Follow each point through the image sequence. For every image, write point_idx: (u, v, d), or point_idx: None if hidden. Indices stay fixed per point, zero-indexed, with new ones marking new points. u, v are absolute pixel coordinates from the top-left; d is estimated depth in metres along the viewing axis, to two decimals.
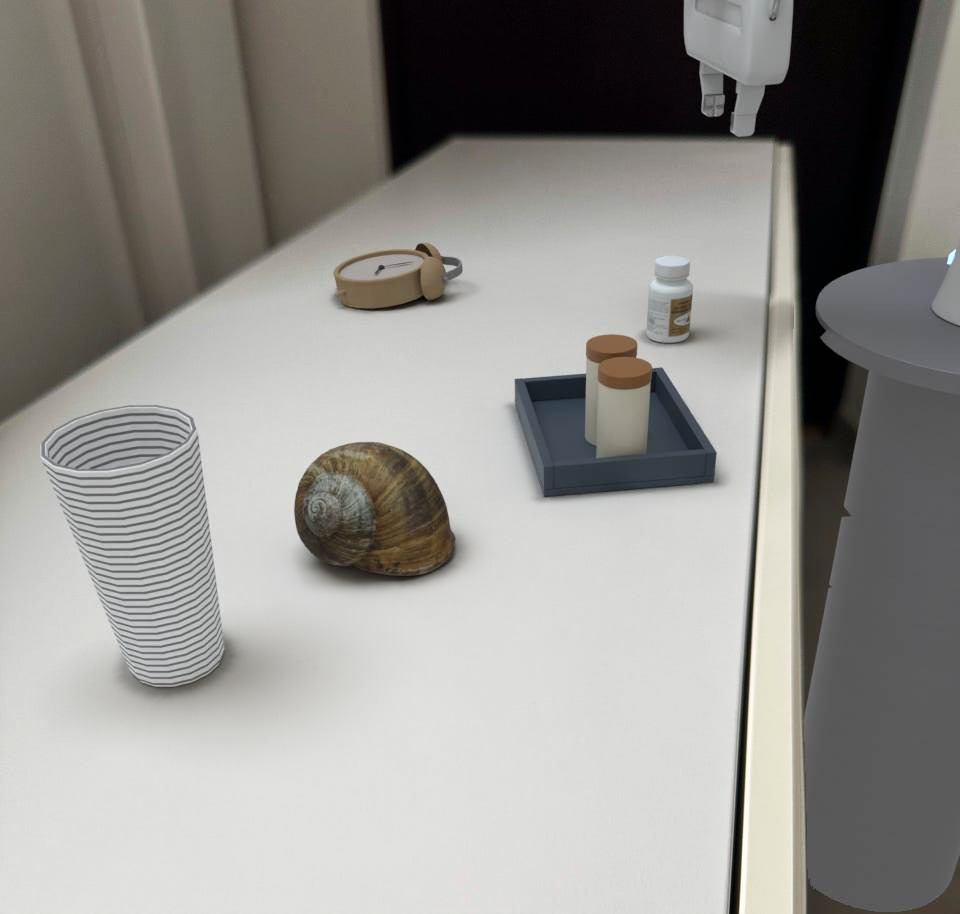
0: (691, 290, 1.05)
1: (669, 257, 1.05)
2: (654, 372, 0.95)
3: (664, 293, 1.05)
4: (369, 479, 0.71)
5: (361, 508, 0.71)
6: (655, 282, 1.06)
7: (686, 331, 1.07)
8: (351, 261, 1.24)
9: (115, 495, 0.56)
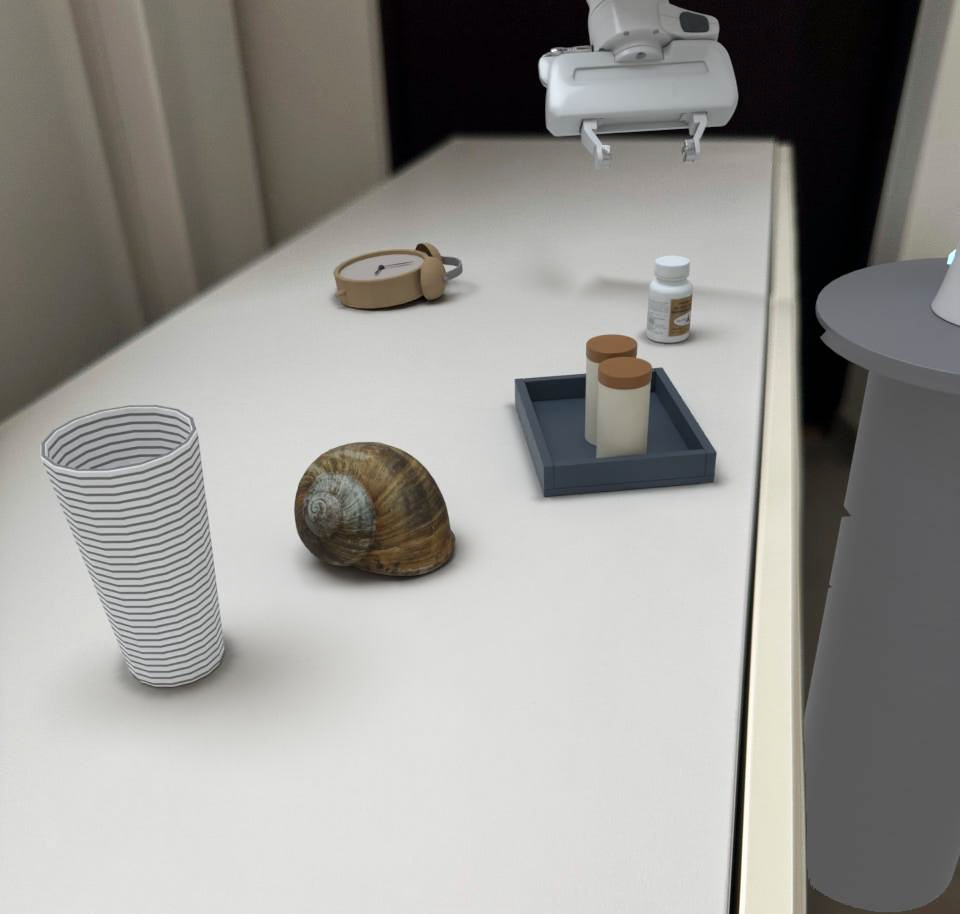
0: (691, 290, 1.05)
1: (669, 257, 1.05)
2: (654, 372, 0.95)
3: (664, 293, 1.05)
4: (369, 479, 0.71)
5: (361, 508, 0.71)
6: (655, 282, 1.06)
7: (686, 331, 1.07)
8: (351, 261, 1.24)
9: (115, 495, 0.56)
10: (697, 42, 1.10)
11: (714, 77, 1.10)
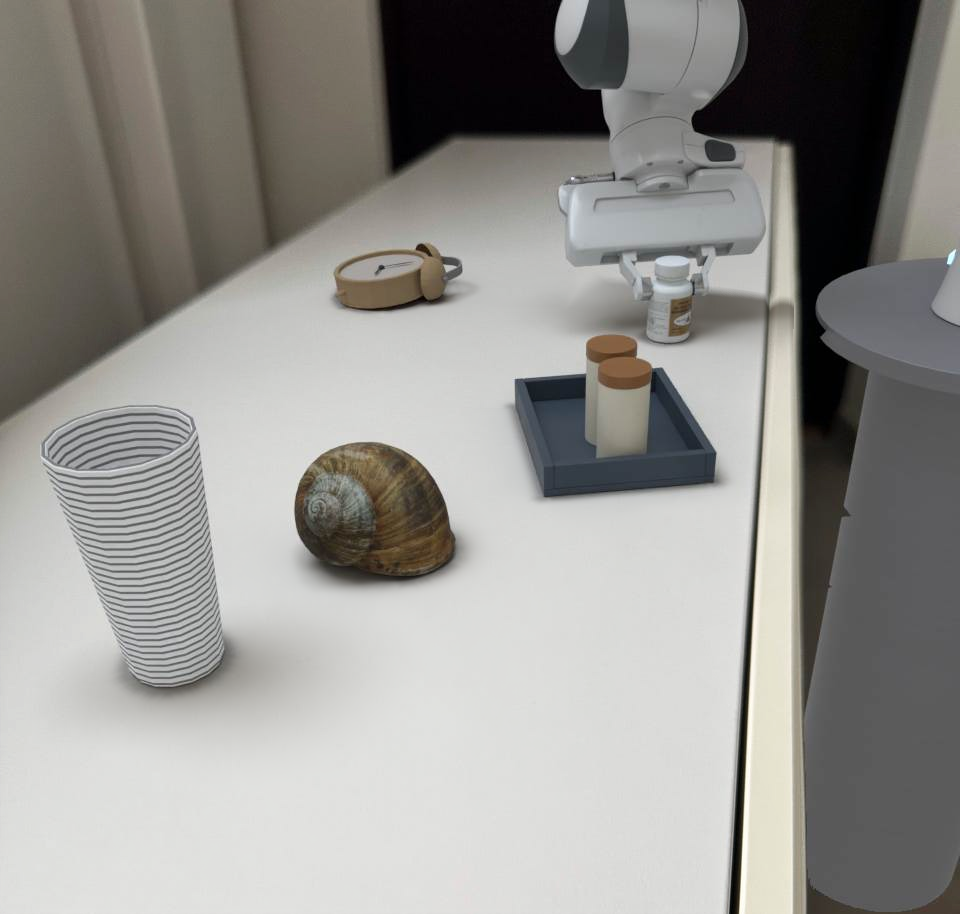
0: (691, 290, 1.05)
1: (669, 257, 1.05)
2: (654, 372, 0.95)
3: (664, 293, 1.05)
4: (369, 479, 0.71)
5: (361, 508, 0.71)
6: (655, 282, 1.06)
7: (686, 331, 1.07)
8: (351, 261, 1.24)
9: (115, 495, 0.56)
10: (723, 171, 1.05)
11: (740, 207, 1.06)
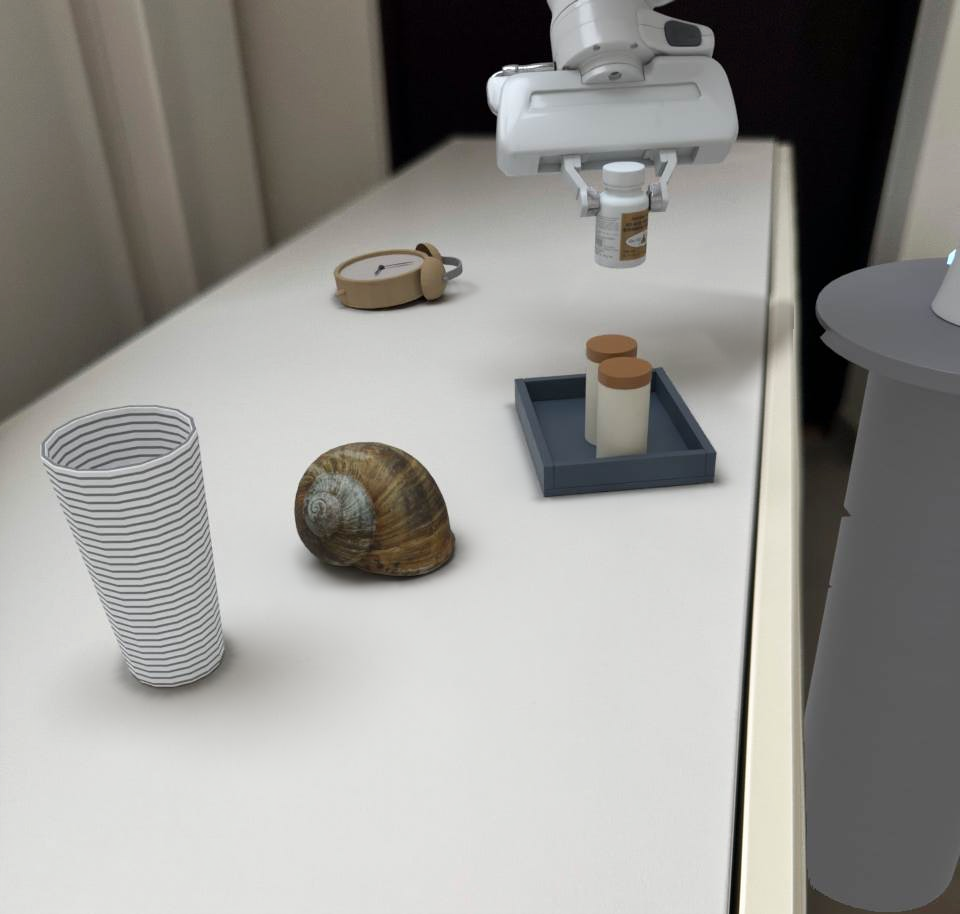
0: (647, 203, 0.87)
1: (620, 163, 0.87)
2: (654, 372, 0.95)
3: (614, 206, 0.86)
4: (369, 479, 0.71)
5: (361, 508, 0.71)
6: (603, 193, 0.87)
7: (641, 254, 0.89)
8: (351, 261, 1.24)
9: (115, 495, 0.56)
10: (687, 58, 0.87)
11: (707, 103, 0.87)
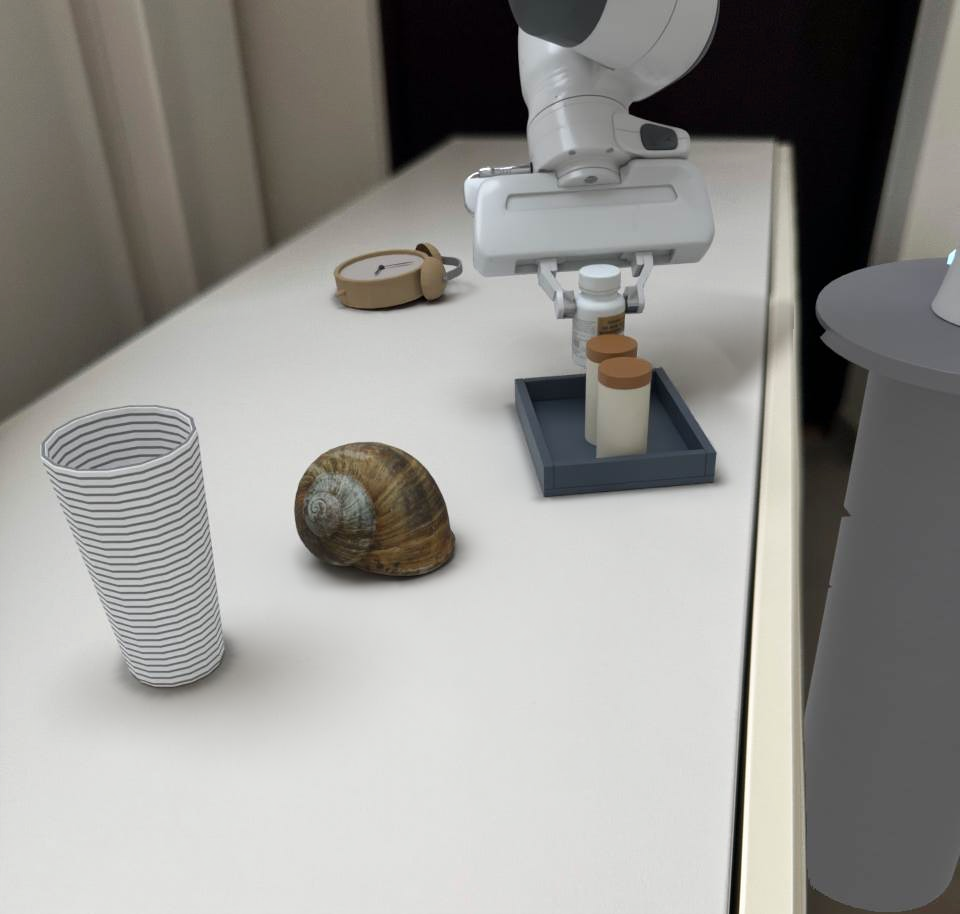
0: (623, 306, 0.87)
1: (596, 266, 0.87)
2: (654, 372, 0.95)
3: (590, 310, 0.86)
4: (369, 479, 0.71)
5: (361, 508, 0.71)
6: (580, 296, 0.87)
7: None
8: (351, 261, 1.24)
9: (115, 495, 0.56)
10: (663, 161, 0.87)
11: (684, 206, 0.87)
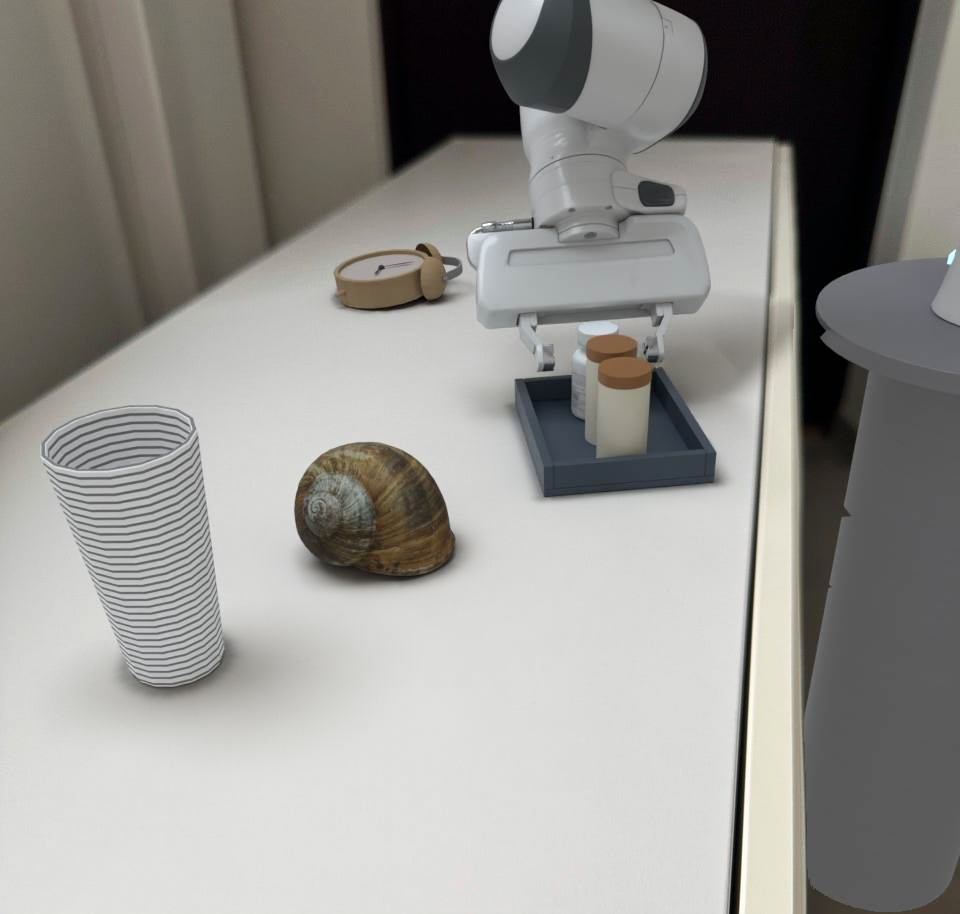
0: None
1: (595, 323, 0.90)
2: (654, 372, 0.95)
3: None
4: (369, 479, 0.71)
5: (361, 508, 0.71)
6: (579, 352, 0.90)
7: None
8: (351, 261, 1.24)
9: (115, 495, 0.56)
10: (660, 217, 0.89)
11: (681, 260, 0.90)
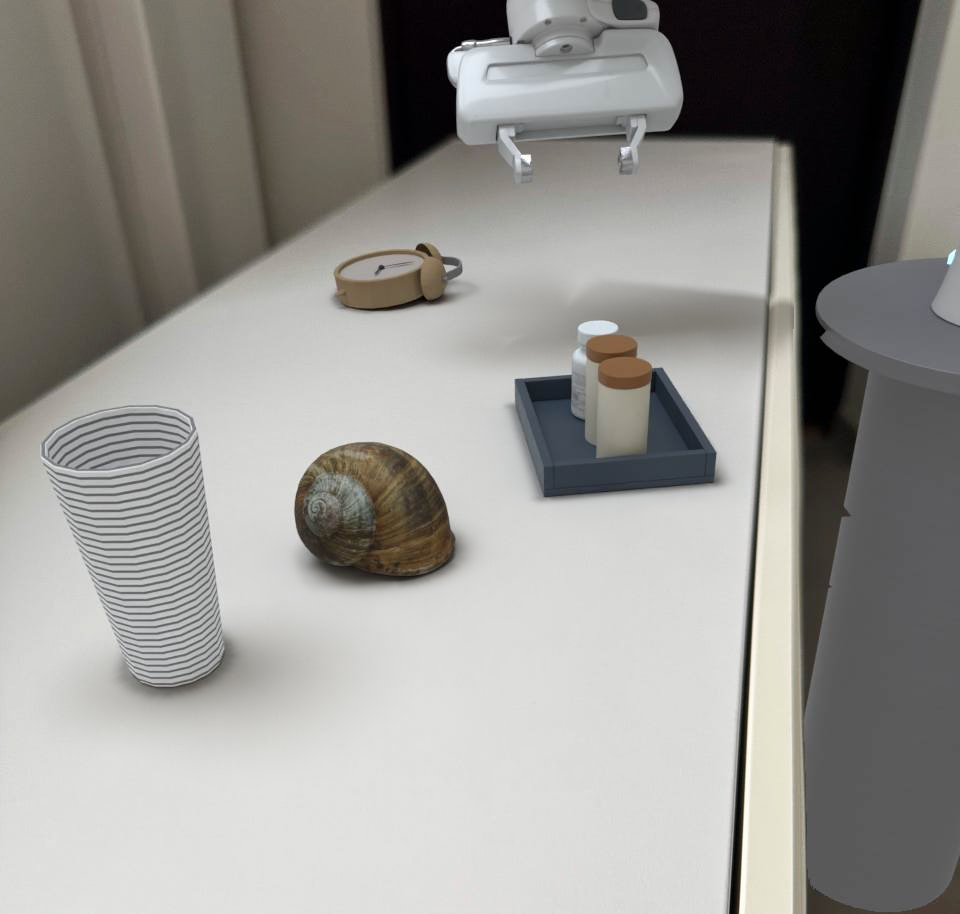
0: None
1: (595, 322, 0.90)
2: (654, 372, 0.95)
3: None
4: (369, 479, 0.71)
5: (361, 508, 0.71)
6: (578, 352, 0.90)
7: None
8: (351, 261, 1.24)
9: (115, 495, 0.56)
10: (633, 31, 0.92)
11: (654, 73, 0.93)
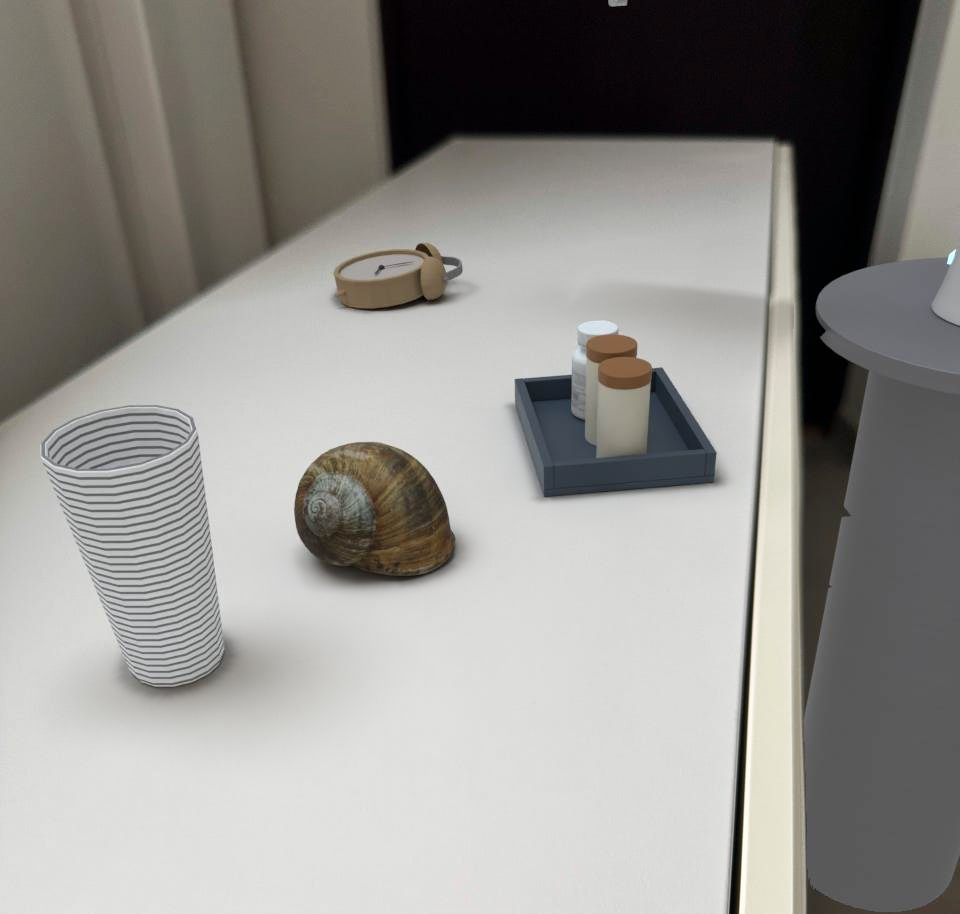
0: None
1: (595, 322, 0.90)
2: (654, 372, 0.95)
3: None
4: (369, 479, 0.71)
5: (361, 508, 0.71)
6: (578, 352, 0.90)
7: None
8: (351, 261, 1.24)
9: (115, 495, 0.56)
10: None
11: None
